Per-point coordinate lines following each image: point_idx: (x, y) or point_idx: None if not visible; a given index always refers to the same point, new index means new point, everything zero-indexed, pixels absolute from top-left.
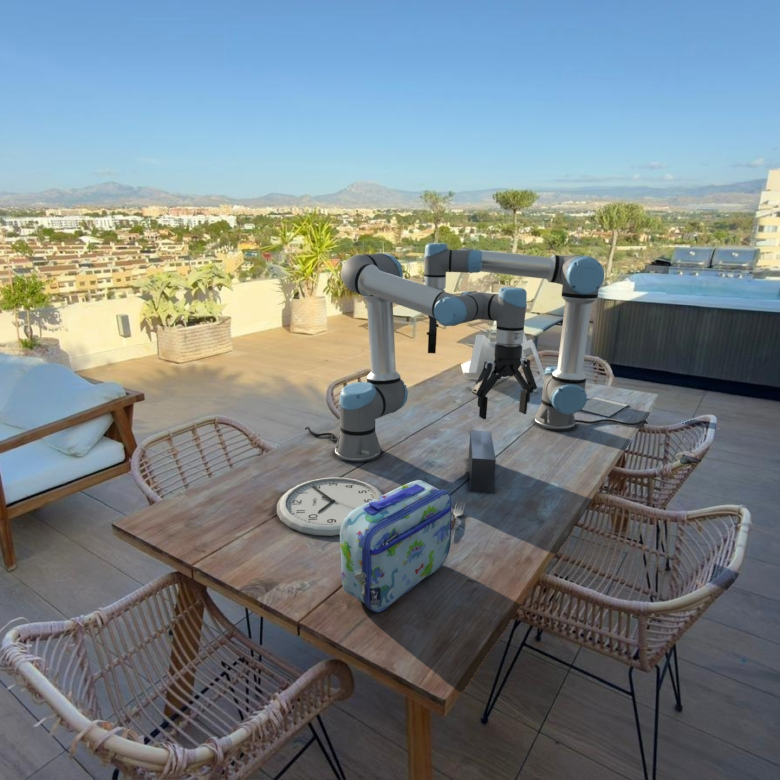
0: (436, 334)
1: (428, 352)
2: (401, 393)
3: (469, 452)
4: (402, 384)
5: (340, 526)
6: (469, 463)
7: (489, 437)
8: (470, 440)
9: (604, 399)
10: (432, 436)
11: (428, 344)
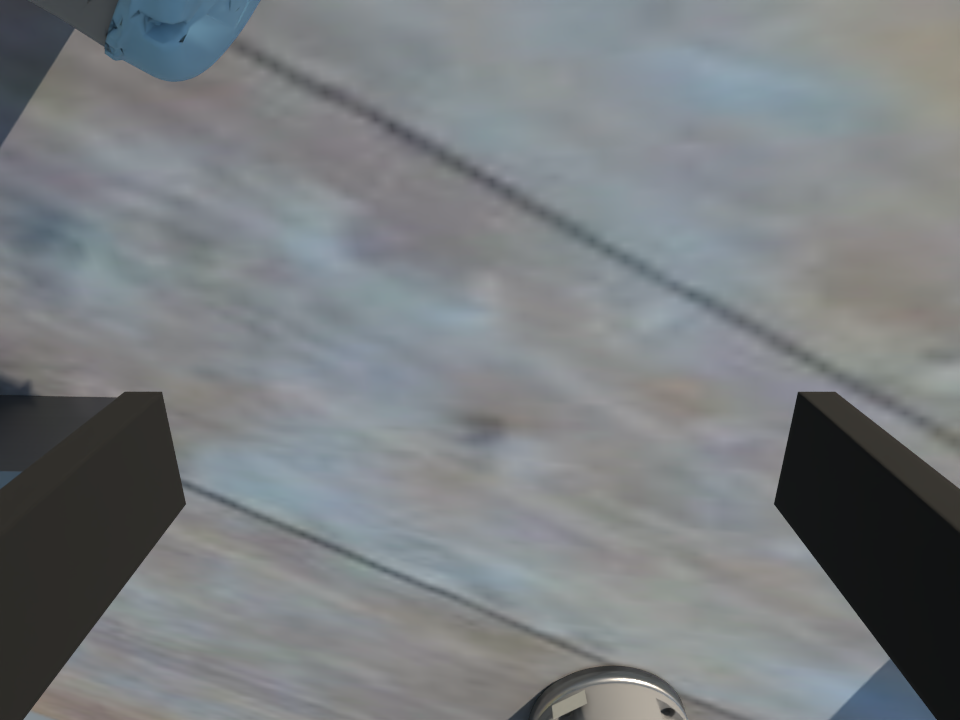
0: (889, 653)
1: (121, 407)
2: (57, 16)
3: (68, 423)
4: (112, 7)
5: None
6: (24, 410)
7: None
8: (6, 457)
9: None
10: (383, 239)
11: (16, 483)
